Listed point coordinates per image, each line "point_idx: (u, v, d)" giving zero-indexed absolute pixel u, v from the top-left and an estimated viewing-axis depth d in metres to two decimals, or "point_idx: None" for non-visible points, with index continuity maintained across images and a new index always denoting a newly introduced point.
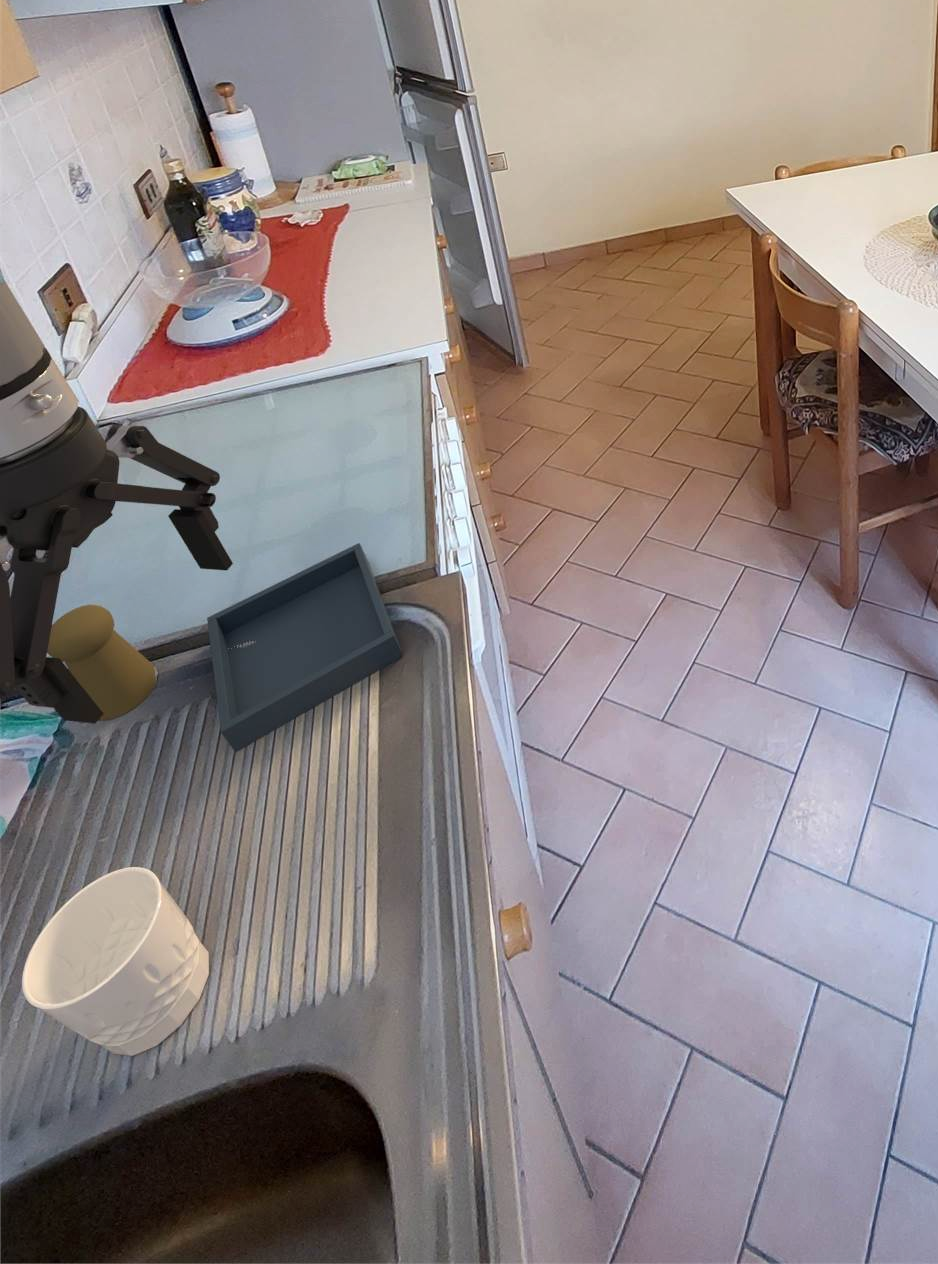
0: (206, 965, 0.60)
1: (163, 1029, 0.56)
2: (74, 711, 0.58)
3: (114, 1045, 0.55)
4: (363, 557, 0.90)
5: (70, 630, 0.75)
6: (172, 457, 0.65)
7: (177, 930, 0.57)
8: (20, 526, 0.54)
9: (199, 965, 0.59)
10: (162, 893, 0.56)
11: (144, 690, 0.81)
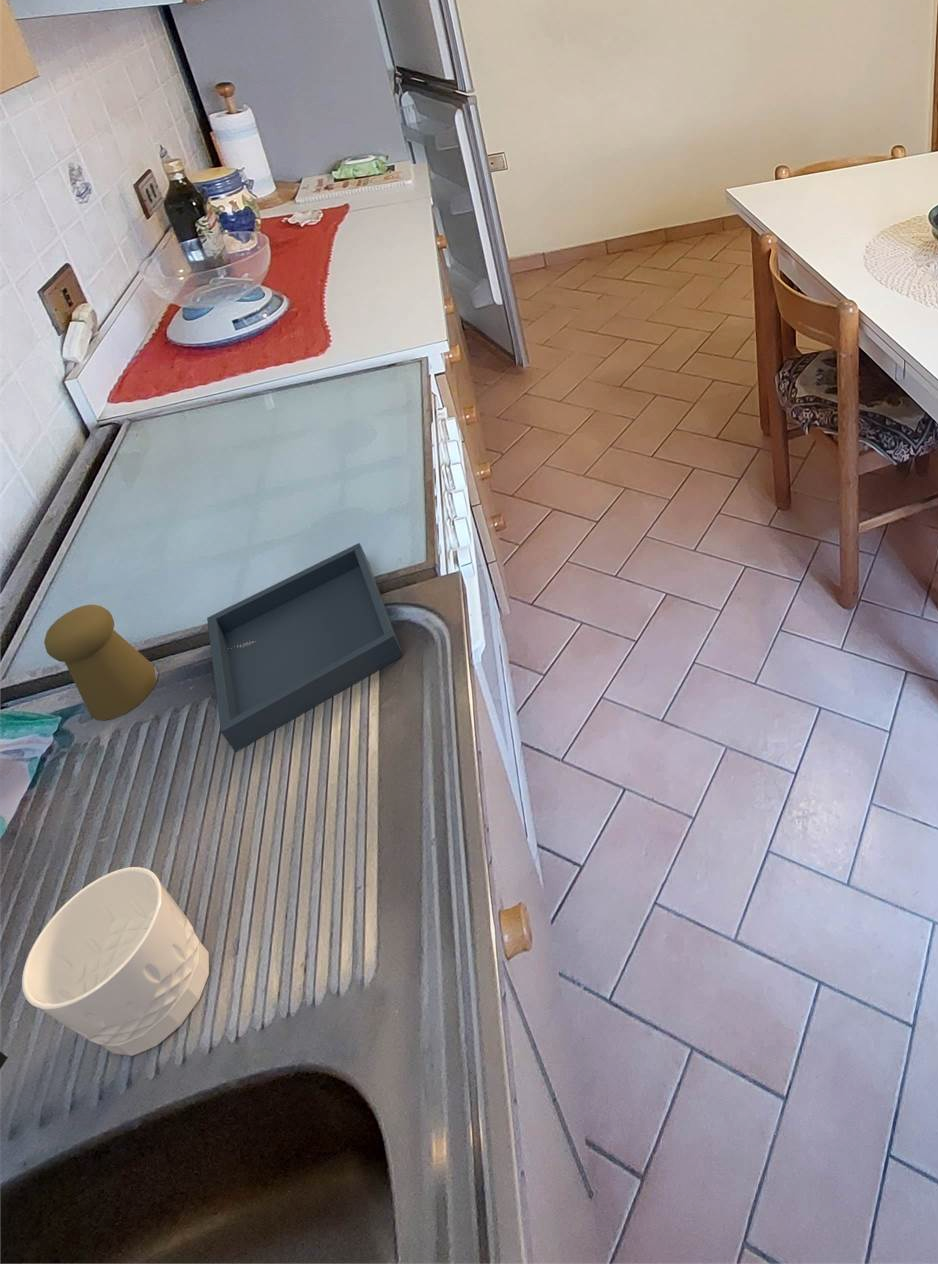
0: (206, 965, 0.60)
1: (163, 1029, 0.56)
2: None
3: (114, 1045, 0.55)
4: (363, 557, 0.90)
5: (70, 630, 0.75)
6: None
7: (177, 930, 0.57)
8: None
9: (199, 965, 0.59)
10: (162, 893, 0.56)
11: (144, 690, 0.81)
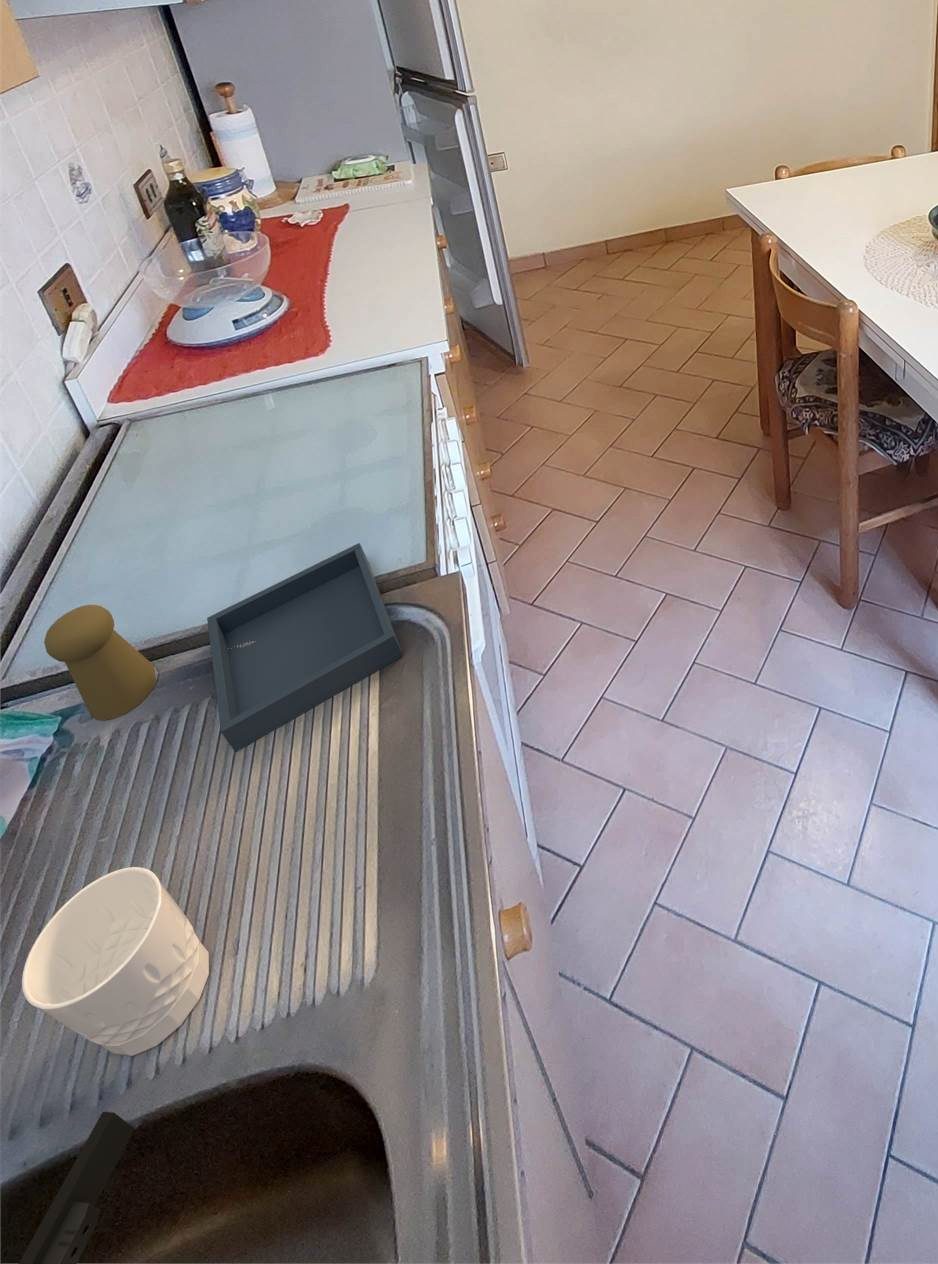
0: (206, 965, 0.60)
1: (163, 1029, 0.56)
2: None
3: (114, 1045, 0.55)
4: (363, 557, 0.90)
5: (70, 630, 0.75)
6: None
7: (177, 930, 0.57)
8: None
9: (199, 965, 0.59)
10: (162, 893, 0.56)
11: (144, 690, 0.81)
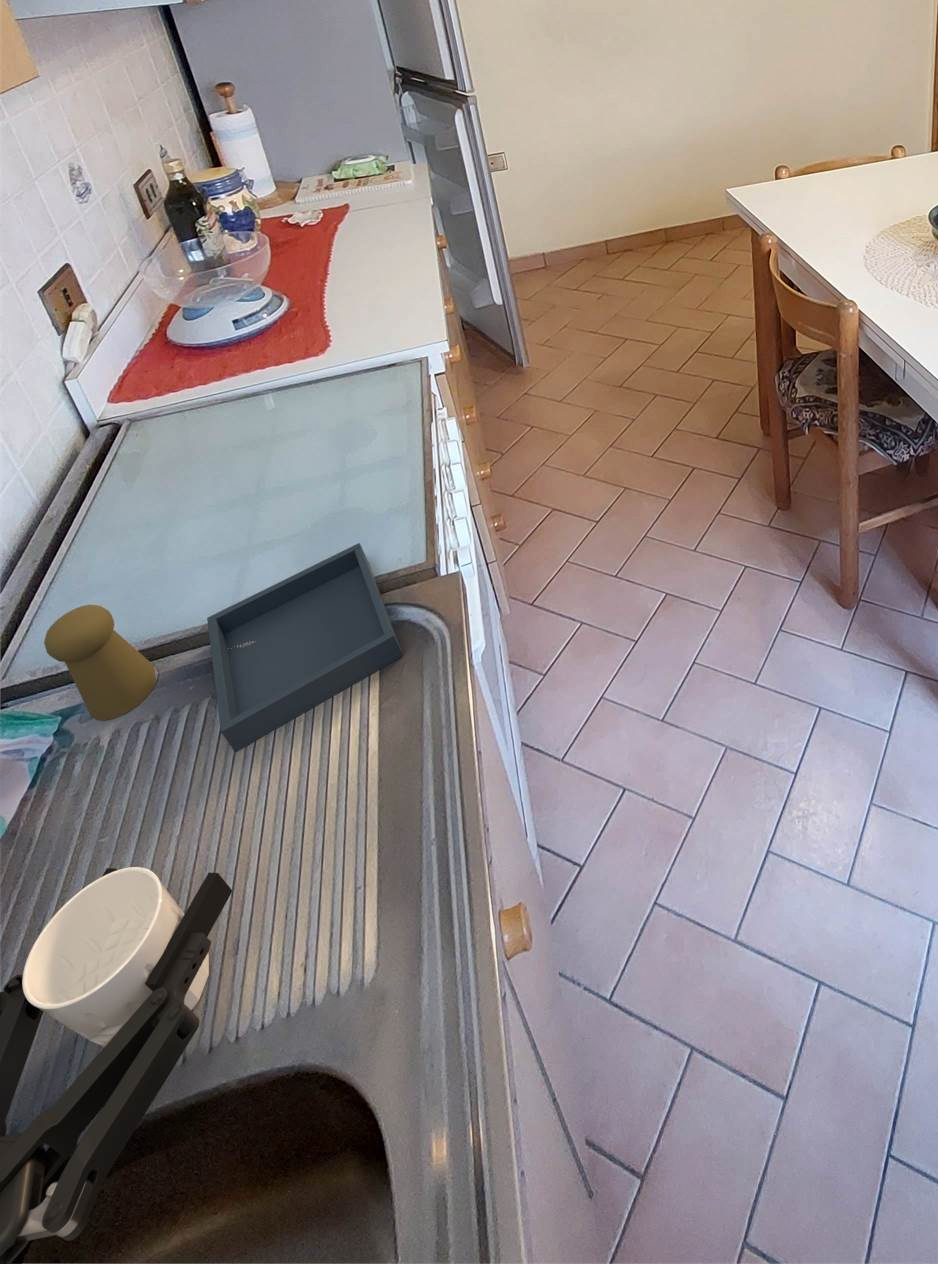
0: (206, 965, 0.60)
1: None
2: None
3: None
4: (363, 557, 0.90)
5: (70, 630, 0.75)
6: None
7: None
8: None
9: None
10: (163, 893, 0.56)
11: (144, 690, 0.81)
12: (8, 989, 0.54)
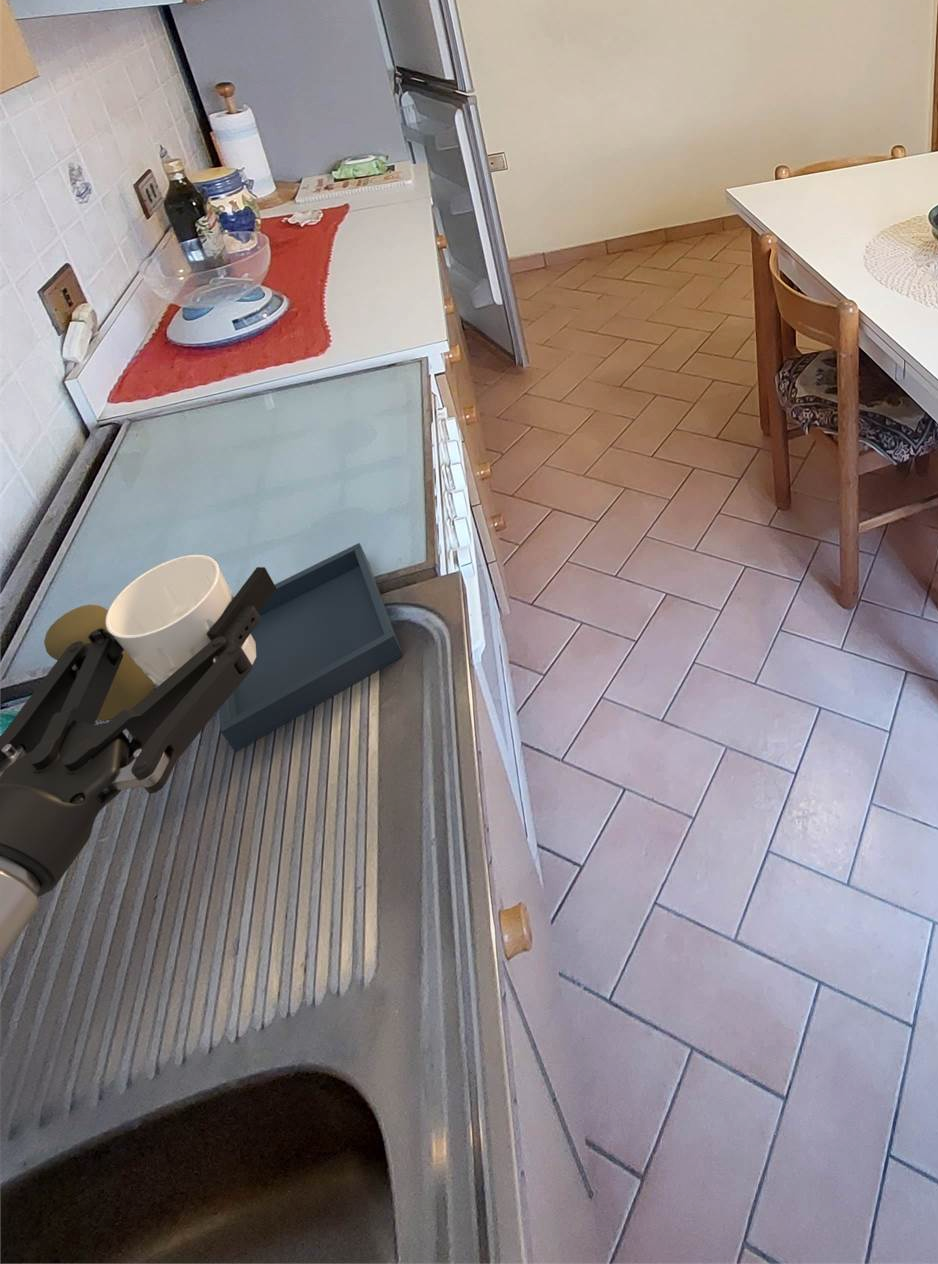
0: (254, 649, 0.70)
1: None
2: None
3: None
4: (363, 557, 0.90)
5: (70, 630, 0.75)
6: None
7: None
8: None
9: (249, 644, 0.69)
10: (220, 570, 0.66)
11: (144, 690, 0.81)
12: (92, 638, 0.64)
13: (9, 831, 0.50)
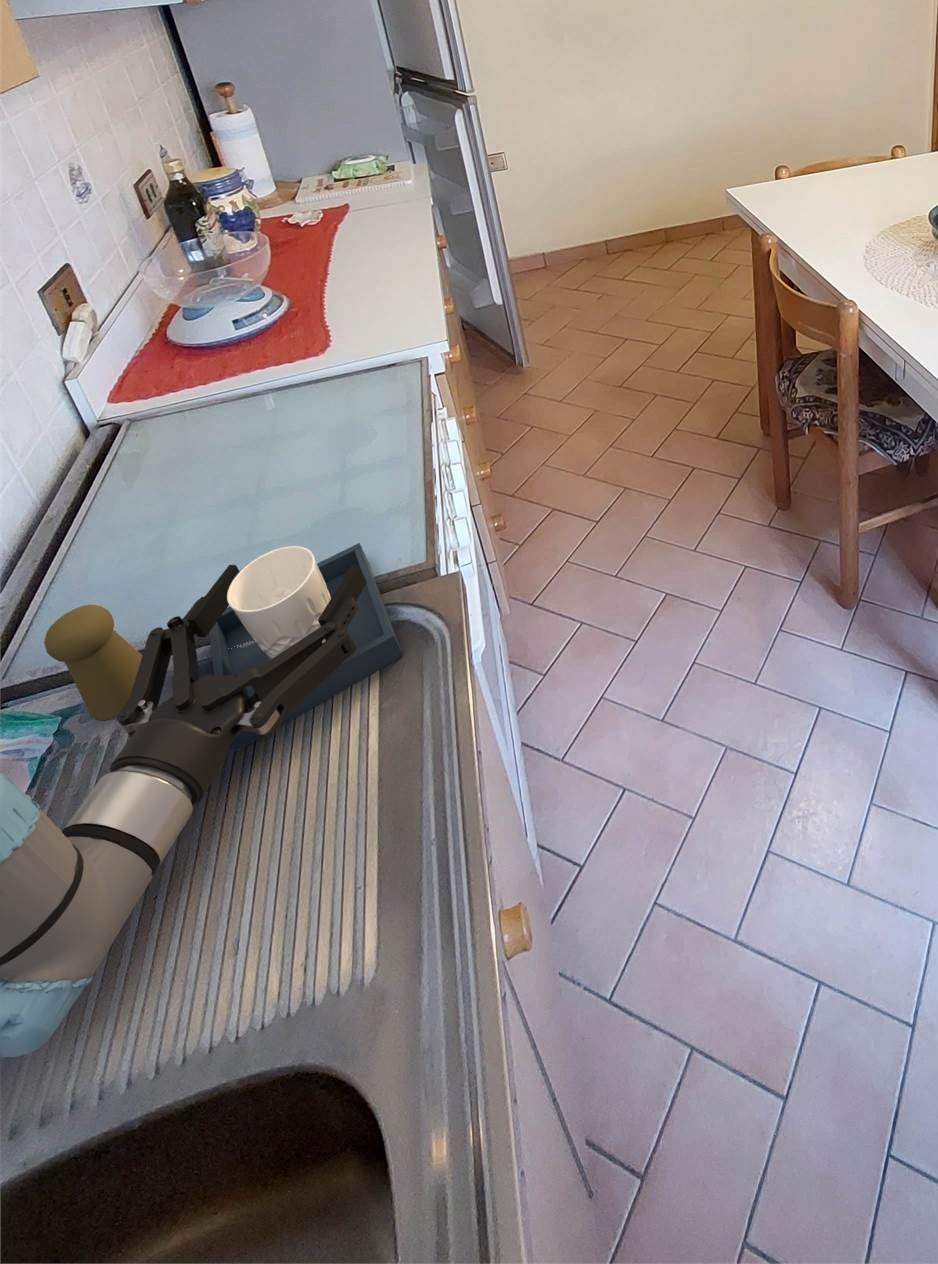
0: None
1: None
2: None
3: None
4: (363, 557, 0.90)
5: (70, 630, 0.75)
6: None
7: (324, 586, 0.82)
8: None
9: None
10: (314, 558, 0.81)
11: None
12: (170, 626, 0.77)
13: (170, 753, 0.64)
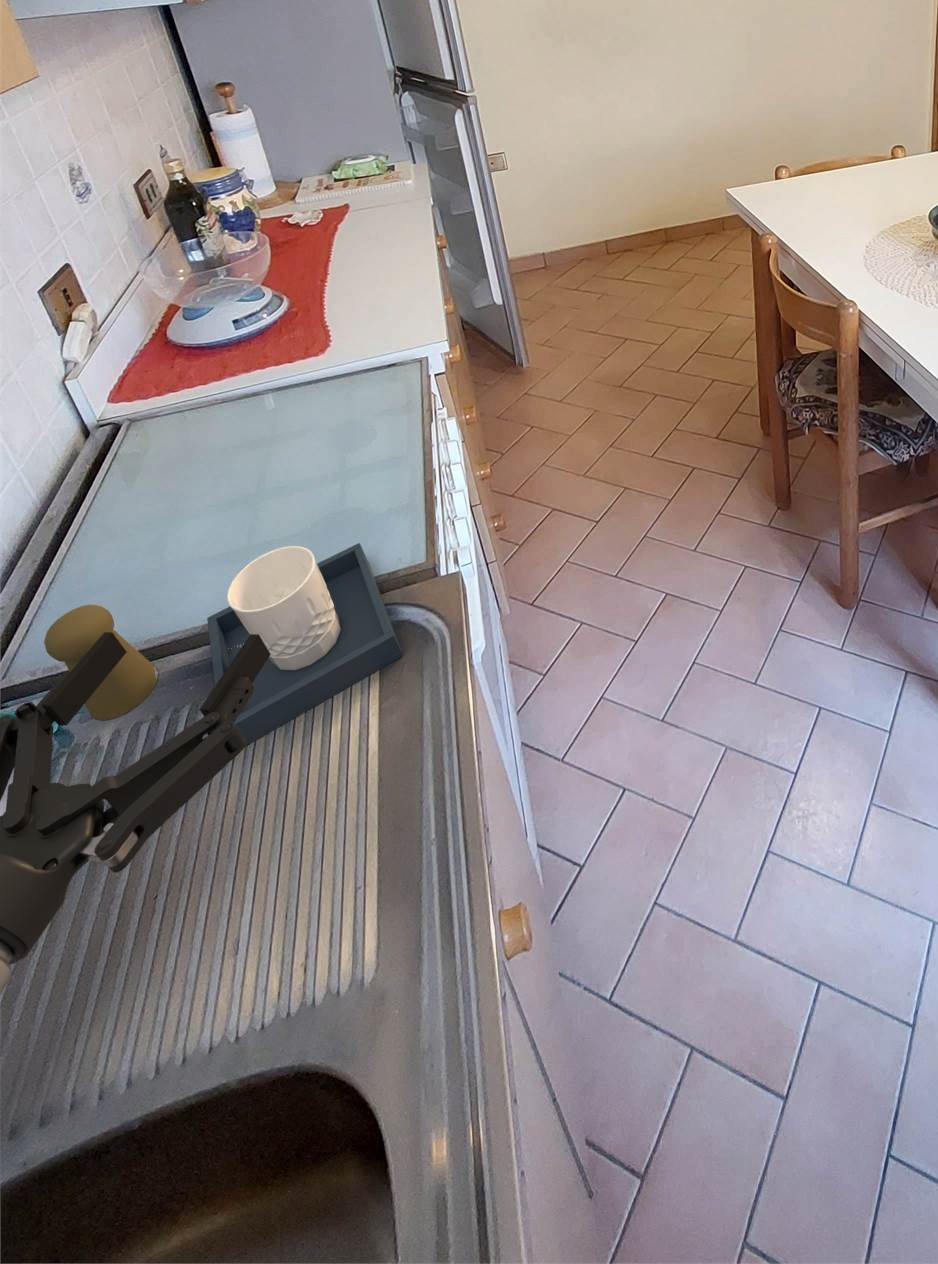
0: (339, 624, 0.85)
1: (314, 653, 0.81)
2: None
3: (283, 658, 0.80)
4: (363, 557, 0.90)
5: (70, 630, 0.75)
6: None
7: (324, 586, 0.82)
8: None
9: (335, 619, 0.84)
10: (314, 558, 0.81)
11: (144, 690, 0.81)
12: (18, 714, 0.63)
13: None
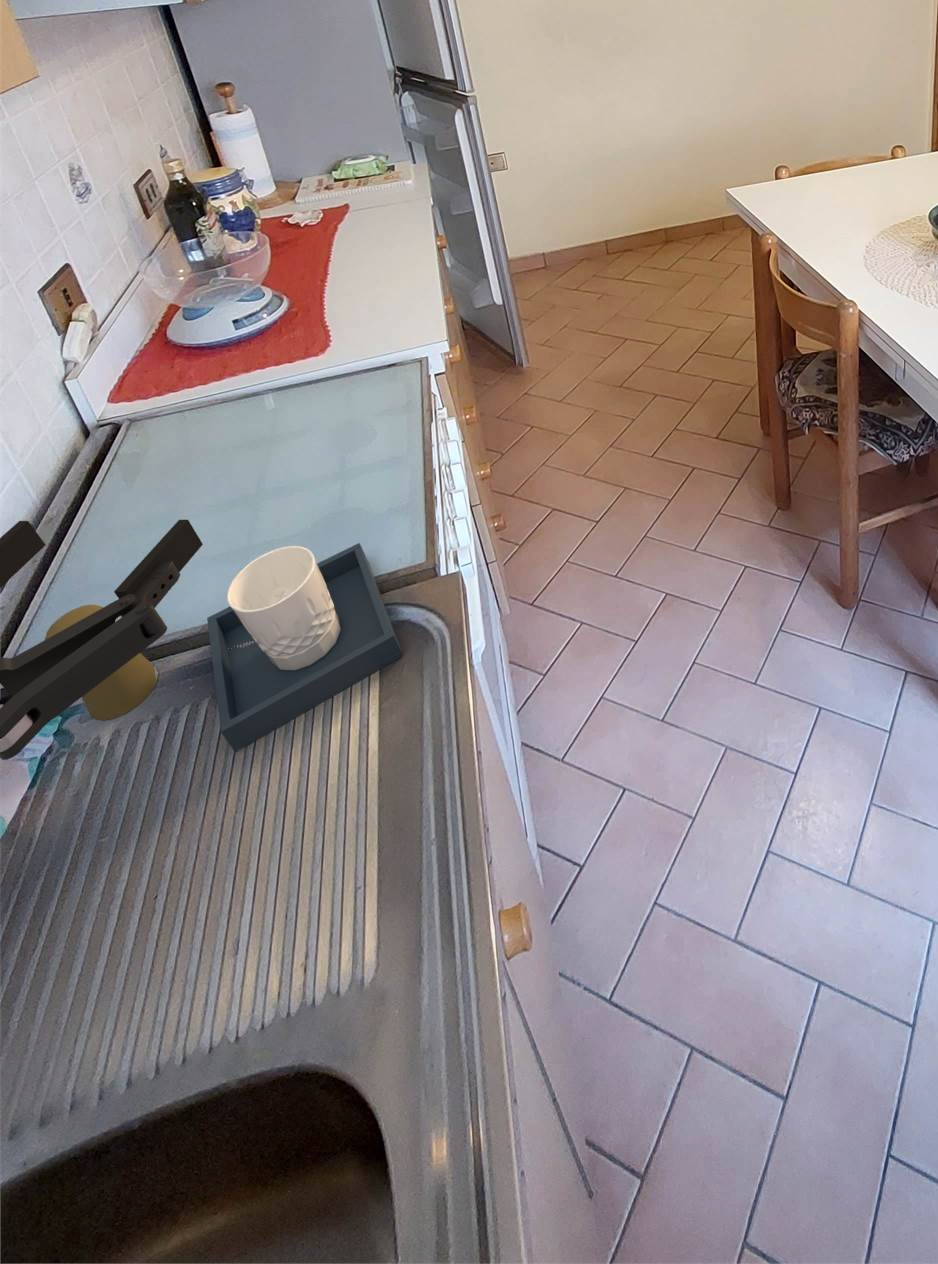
0: (339, 623, 0.85)
1: (315, 653, 0.81)
2: None
3: (283, 658, 0.80)
4: (363, 557, 0.90)
5: None
6: None
7: (324, 586, 0.82)
8: None
9: (335, 619, 0.84)
10: (314, 558, 0.81)
11: (144, 690, 0.81)
12: None
13: None
